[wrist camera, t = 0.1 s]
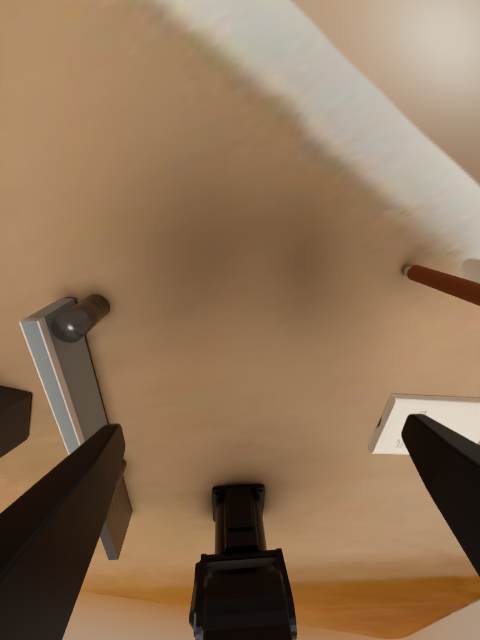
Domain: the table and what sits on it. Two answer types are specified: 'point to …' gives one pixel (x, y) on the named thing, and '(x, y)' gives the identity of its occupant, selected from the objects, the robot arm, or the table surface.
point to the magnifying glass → (445, 283)
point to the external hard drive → (453, 412)
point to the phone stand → (13, 418)
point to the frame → (117, 521)
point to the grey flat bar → (65, 376)
